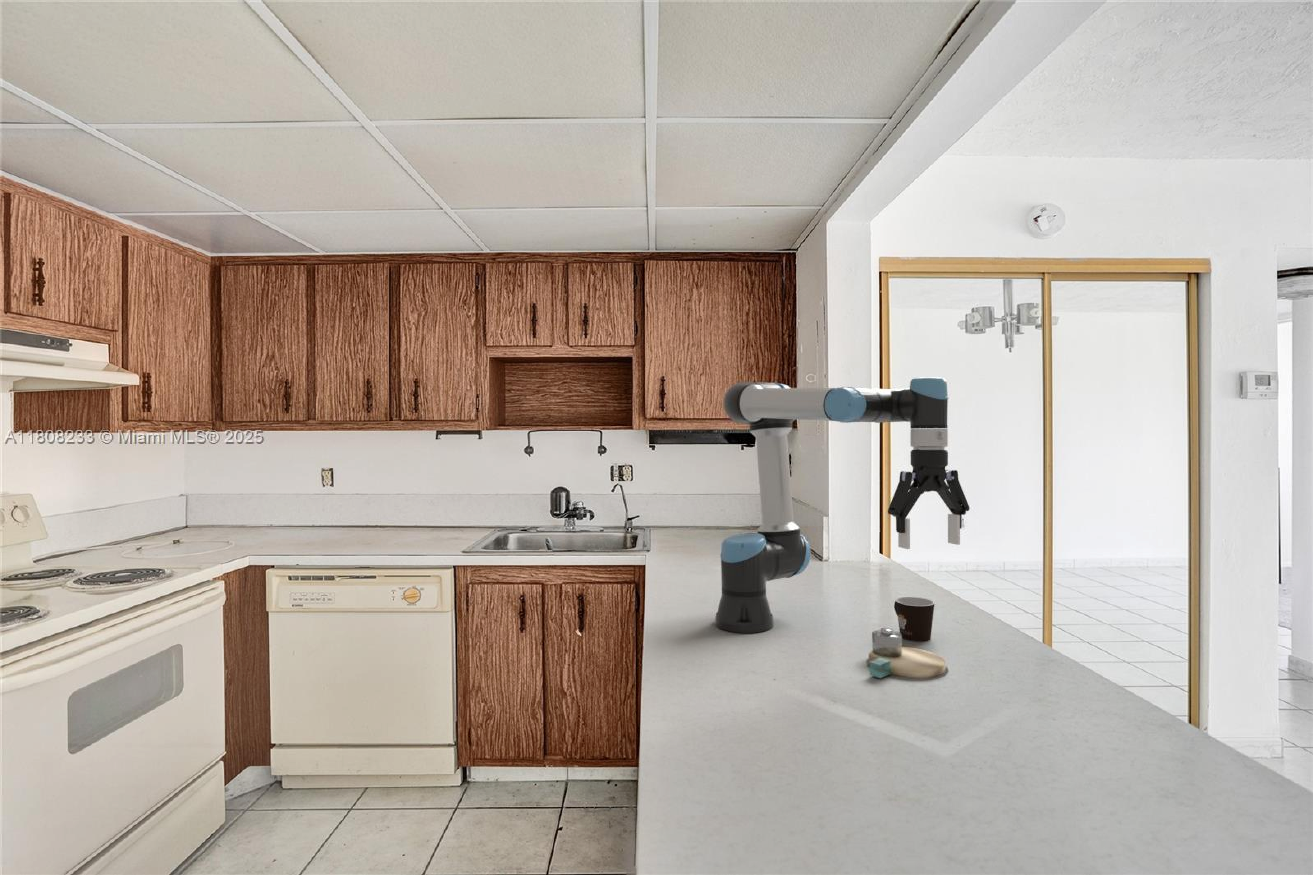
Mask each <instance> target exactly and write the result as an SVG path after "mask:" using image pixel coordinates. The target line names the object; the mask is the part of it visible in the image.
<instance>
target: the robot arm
mask: <svg viewBox="0 0 1313 875" xmlns="http://www.w3.org/2000/svg"><path fill="white" fill-rule="evenodd" d="M948 400H949V395H948V383H947V380H946V379H945V378H944V377H940V376H939V377H938V376H935V377H934V376H931V377H929V376H928V377H927V376H926V377H916V378H915V377H914V378H912V379H911V380H910V383H909V387H908V388H907V387H906V388H893V389H889V388H888V389H886V388H863V387H862V388H861V387H853V386H851V387H850V386H840V387H811V388H810V387H790V386H789V385H786V384H783V383H778V382H775V381H774V382H767V381H766V382H764V381H762V382H759V381H740V382H736V383H735V384H733V385H732V386H730V387H729V388H728V389H727V391H726V393H725V394H724V397H723V401H722V402H723V403H722V404H723V405H722V406H723V410H724V412H725V414H726V415H727V417H728V418H729V419H730V420H732V421H733V422H735V423H738V424H742V425H749V432H750V434H752V435H753V436H754V437H755V440H756V444H755V445H756V455H757V456H756V457H757V465H758V466H757V469H758V480H759V481H758V483H759V495H760V496H759V497H760V511H761V512H760V513H761V522H762V523H761V524H760V525H759V527H758V528H757V530H756V532H757V533H756V532H746V533H738V534H734V535H730V536H727V537H726V538H725V539H724V540H722V543H721V551H720V570H721V571H720V572H721V574H720V575H721V597H720V600H719V604H718V607H717V612H716V613H715V618H714V620H715V626H716V627H717V628H719V629H721V630H723V631H727V632H732V633H740V634H741V633H742V634H746V633H747V634H753V633H762V632H765V631H768V630H771V629H772V628H773V627H774V615H773V613H771V609H770V605H769V601H768V597H767V582H770V581H775V580H779V579H780V580H781V579H789V578H792V577H795V576H797V575H801V574H802V573H803V572H804V571H805V570H806V569H807V567H808V566H809V563H810V561H811V555H812V554H811V551H812V550H811V546H810V543H809V541H807V538H806V536H804V535H802V534H801V527H800V526H798V525H797V524H796V522H795V521H794V510H793V509H794V507H793V506H794V505H793V496H792V484H791V483H792V482H791V473H790V470H791V469H790V456H789V442H788V435H789V434H790V432H792V430H793V422H794V421H795V420H799V421H800V420H802V421H803V420H804V421H822V422H823V421H824V422H825V421H826V422H827V421H828V422H839V423H847V424H848V423H876V424H879V423H880V424H884V423H899V422H901V423H903V422H907V423H909V422H910V424H909V425H910V432H909V435H910V439H909V441H910V447H911V448H913V449H911V451H910V465H911V467H912V471H906V470H905V471H904V470H902V471H900V472H899V481H898V482H897V486H896V489H895V491H894V494H893V497H892V498H891V502H890V504H889V507H888V508H887V514H888V515H891V516H893V517H894V518H895V530H896V533H898V535H897V537H898V541H897V543H898V548H901V549H904V550H910V549H911V519H910V517H907V516H908V515H909V513H910V512H911V510H913V508H914V506H915V505H916V503H917V501H919V499H920V497H921V495H923V494H925V492H926V493H928V492H936V493H937V494H938V496H939V497H940V498H941V500H942V501H943V503H944V504H945V505H946V507H947V508H948V510H949V511H950V513H947V544H950V545H951V544H953V545H957V546H958V545H959V546H960V544H961V529H962V527H963V526H962V525H963V524H962V519H963V516H962V515H964V516H965V515H966V514H967V512H968V511H970V509H971V508H970V505H969V502H968V500H967V498H966V494H965V493H964V490H963V488H962V486H961V483H960V482H961V481H960V480H959V473H958V470H957V469H946V468H947V466H948V465H949V452H948V450H947V449H945V448H947V447H948V445H949V443H948V442H949V441H948V440H949V436H948V435H949V434H948V406H949V405H948V402H949V401H948Z"/></svg>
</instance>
